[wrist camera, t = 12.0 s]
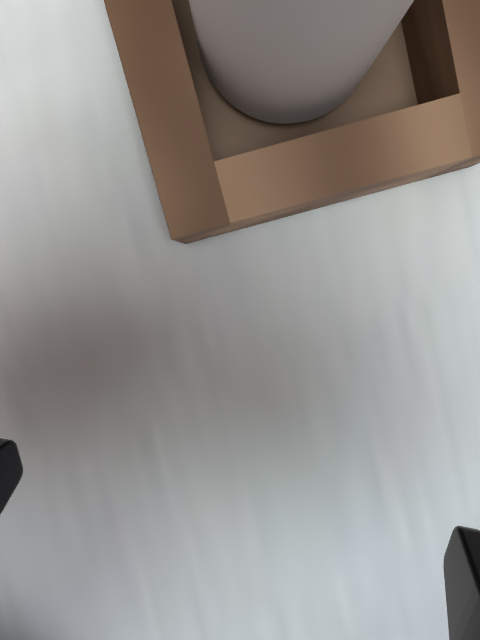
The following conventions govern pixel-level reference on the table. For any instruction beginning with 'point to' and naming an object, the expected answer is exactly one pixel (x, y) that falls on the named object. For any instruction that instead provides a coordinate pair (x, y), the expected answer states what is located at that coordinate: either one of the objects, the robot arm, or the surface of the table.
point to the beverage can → (291, 51)
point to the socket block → (303, 137)
